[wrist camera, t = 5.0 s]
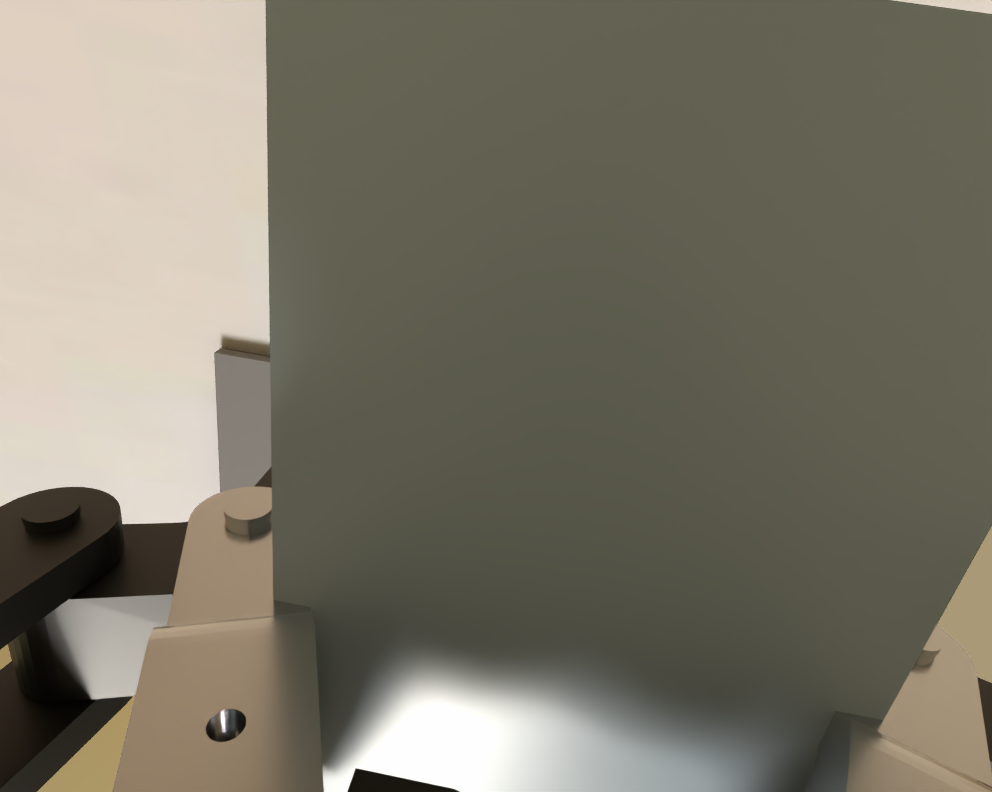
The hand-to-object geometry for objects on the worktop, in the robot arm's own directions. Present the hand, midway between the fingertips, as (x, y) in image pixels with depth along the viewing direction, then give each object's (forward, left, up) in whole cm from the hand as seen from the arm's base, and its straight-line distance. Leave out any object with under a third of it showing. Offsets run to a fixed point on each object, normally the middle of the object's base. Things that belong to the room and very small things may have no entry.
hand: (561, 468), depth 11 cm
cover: (0, 0, -2) cm, 2 cm away
